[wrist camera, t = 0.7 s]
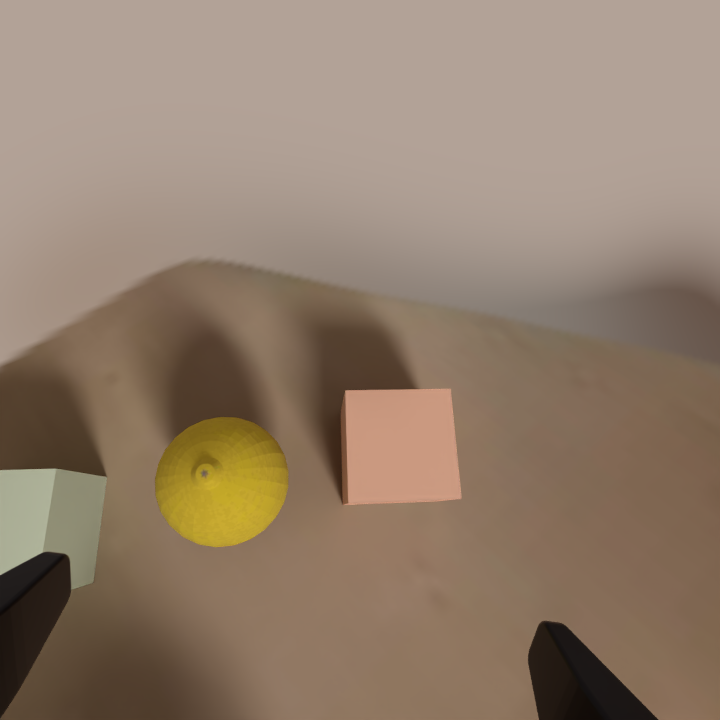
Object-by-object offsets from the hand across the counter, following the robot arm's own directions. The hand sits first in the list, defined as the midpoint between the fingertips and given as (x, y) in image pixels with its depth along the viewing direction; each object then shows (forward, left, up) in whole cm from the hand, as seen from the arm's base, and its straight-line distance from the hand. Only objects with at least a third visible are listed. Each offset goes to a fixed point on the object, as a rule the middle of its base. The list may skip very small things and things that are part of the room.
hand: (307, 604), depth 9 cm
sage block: (+3, +13, -16) cm, 21 cm away
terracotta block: (+4, -5, -16) cm, 17 cm away
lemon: (+4, +3, -16) cm, 17 cm away
